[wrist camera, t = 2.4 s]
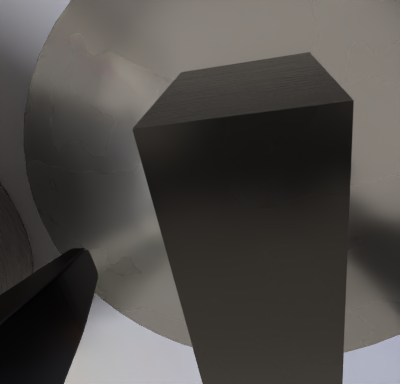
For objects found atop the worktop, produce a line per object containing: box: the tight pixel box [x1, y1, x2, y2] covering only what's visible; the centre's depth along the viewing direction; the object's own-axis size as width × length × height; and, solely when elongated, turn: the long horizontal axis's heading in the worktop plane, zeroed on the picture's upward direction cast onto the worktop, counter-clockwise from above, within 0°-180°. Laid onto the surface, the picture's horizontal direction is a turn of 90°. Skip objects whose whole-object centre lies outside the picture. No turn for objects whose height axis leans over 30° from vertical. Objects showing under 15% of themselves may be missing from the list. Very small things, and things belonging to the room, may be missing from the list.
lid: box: [24, 0, 400, 384], centre depth 9 cm, size 14×14×5 cm
